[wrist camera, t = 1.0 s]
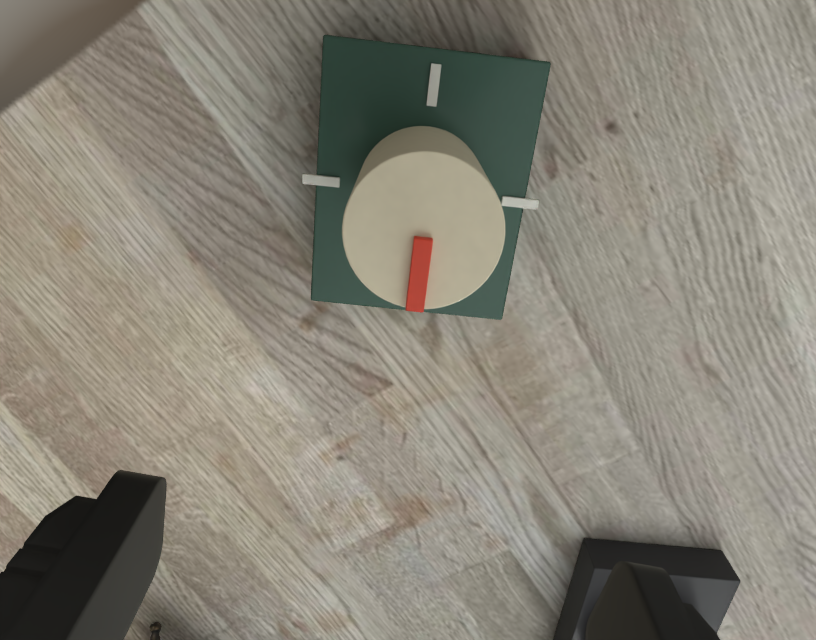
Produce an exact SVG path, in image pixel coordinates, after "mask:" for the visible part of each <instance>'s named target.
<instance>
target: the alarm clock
mask: <svg viewBox="0 0 816 640" xmlns="http://www.w3.org/2000/svg"><path fill="white" fill-rule="evenodd" d="M160 630H161V624H160V623H159V622H155V623H153V624H151V626H150V631H151V632H152V634H151V638H150V640H160V636H159V632H160Z"/></svg>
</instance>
